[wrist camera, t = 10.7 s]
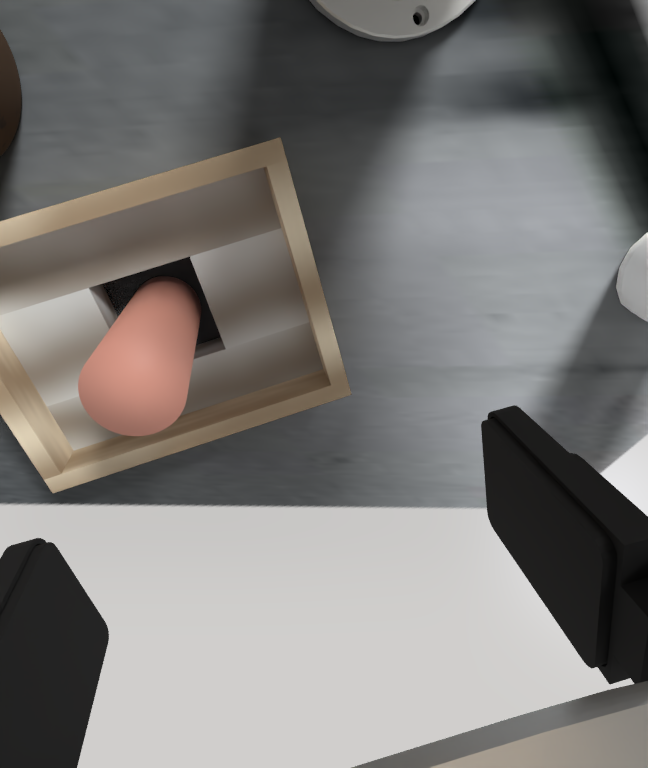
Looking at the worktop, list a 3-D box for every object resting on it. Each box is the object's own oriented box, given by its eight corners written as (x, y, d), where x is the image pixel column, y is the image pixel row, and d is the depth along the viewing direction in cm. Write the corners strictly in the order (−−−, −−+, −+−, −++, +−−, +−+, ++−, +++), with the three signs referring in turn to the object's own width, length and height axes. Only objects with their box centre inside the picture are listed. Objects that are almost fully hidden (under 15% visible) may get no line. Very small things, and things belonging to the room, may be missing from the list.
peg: (121, 287, 29) (57, 362, 18) (186, 267, 29) (162, 328, 18) (149, 348, 31) (107, 449, 20) (210, 328, 31) (202, 418, 20)
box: (-49, 238, 26) (-107, 253, 22) (271, 141, 27) (280, 137, 23) (77, 447, 32) (52, 493, 28) (334, 363, 33) (351, 394, 29)
